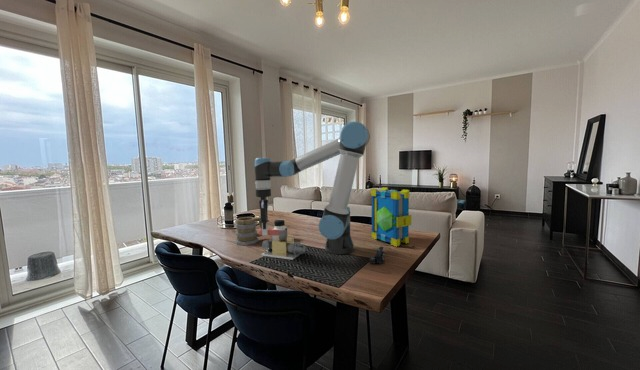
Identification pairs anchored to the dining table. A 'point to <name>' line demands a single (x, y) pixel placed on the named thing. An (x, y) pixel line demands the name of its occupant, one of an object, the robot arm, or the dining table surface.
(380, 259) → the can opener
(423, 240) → the dining table surface
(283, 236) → the lever
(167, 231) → the dining table surface
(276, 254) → the valve
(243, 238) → the tankard
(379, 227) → the decorative book
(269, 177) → the robot arm
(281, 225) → the medicine bottle
